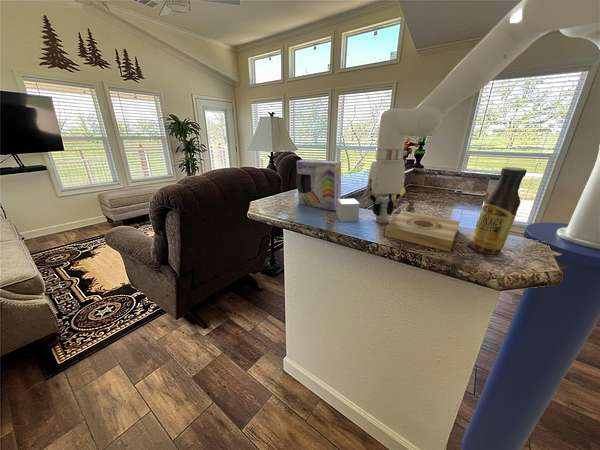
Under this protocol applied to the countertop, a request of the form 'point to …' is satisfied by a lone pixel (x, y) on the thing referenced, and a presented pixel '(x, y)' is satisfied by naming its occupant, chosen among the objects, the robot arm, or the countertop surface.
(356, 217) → the white cube
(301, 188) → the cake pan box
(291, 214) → the countertop surface
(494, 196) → the sauce bottle
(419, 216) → the wooden block
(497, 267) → the countertop surface
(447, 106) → the robot arm
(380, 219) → the rook chess piece
